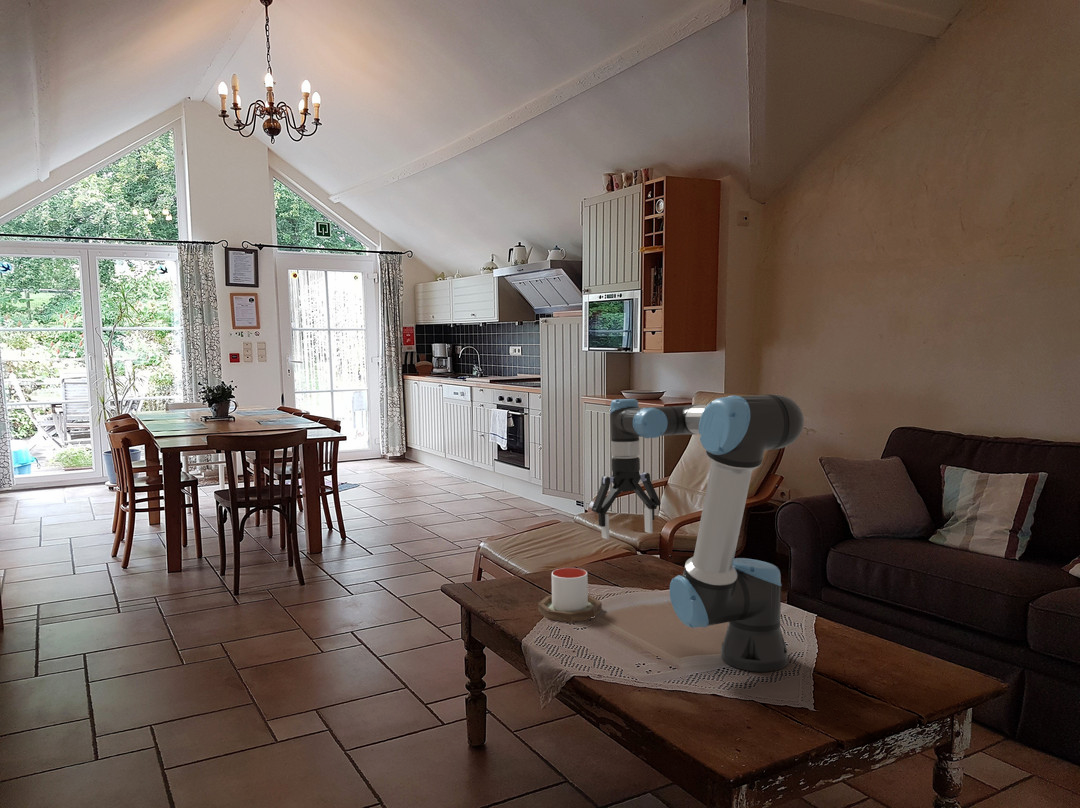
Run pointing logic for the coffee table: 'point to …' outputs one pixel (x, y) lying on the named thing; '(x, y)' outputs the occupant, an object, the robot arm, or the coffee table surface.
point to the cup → (569, 589)
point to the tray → (553, 614)
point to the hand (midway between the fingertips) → (627, 535)
